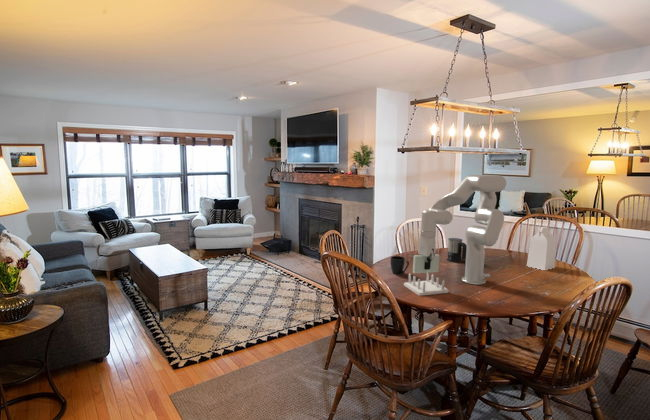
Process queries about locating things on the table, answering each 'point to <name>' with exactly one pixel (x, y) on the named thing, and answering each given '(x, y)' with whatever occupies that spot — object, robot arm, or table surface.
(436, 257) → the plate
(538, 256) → the milk
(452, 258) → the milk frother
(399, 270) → the mug
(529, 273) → the table surface
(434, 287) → the dish rack
